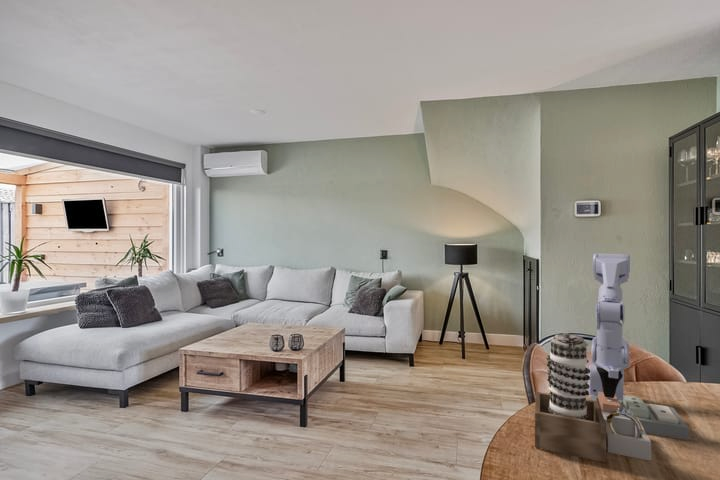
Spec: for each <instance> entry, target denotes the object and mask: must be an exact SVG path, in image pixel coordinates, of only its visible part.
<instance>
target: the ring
mask: <svg viewBox="0 0 720 480" xmlns="http://www.w3.org/2000/svg"><path fill="white" fill-rule="evenodd" d="M628 410H629V409H627V410H625V408H623V409H621V410H620V409H619V408H618V410H615V411H613V412H612V413H611V414H610V415H609V416H608V417H607V422H608V423H609V426H610V428H611V431H612V433H613V434H617V433H616V432H615V431H614V429H613V427H612V423H611V421H612V418H613V417H615V416H619V415H621V416H626V417H628V418H630V419H631V420H632V421H633V422H634V424H635V426H636V428H637V436H636V438H641V433H642V426H641V424H640V422H639V421H638V419H637V418H636V417H635V416H633V413H632V414H631V411H628Z"/></svg>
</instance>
